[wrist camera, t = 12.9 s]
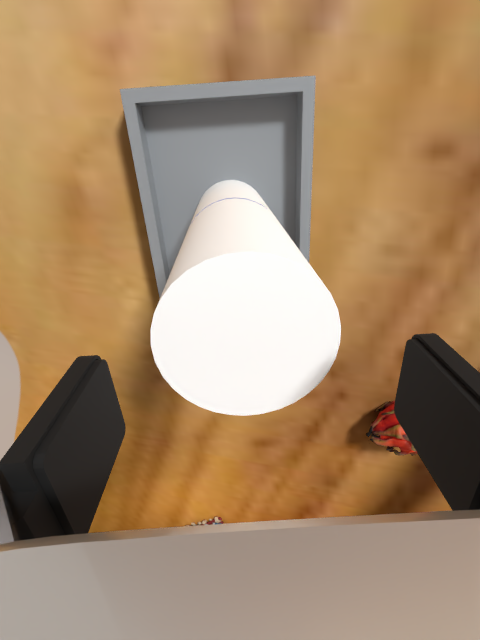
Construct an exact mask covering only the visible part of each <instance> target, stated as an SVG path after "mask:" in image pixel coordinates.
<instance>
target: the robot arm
mask: <svg viewBox="0 0 480 640" xmlns="http://www.w3.org/2000/svg"><path fill="white" fill-rule="evenodd" d="M394 413H395V416H396V418H397V420H398V422H399V423H400V425H401V427H402V428H403V430H404V432H405V433H406V435H407V437H408V438H409V440H410V441H411V443H412V445H413V446H414V448H415V450H416V451H417V453H418V455H419V456H420V458H421V459H422V461H423V463H424V464H425V466H426V468H427V469H428V471H429V473H430V474H431V476H432V477H433V479H434V481H435V482H436V484H437V486H438V487H439V489H440V491H441V492H442V494H443V495H444V497H445V499H446V500H447V502H448V504H449V505H450V507H451V509H452V510H453V511H436V512H418V513H400V514H382V515H364V516H345V517H328V518H312V519H295V520H278V521H262V522H246V523H230V524H214V525H199V526H184V527H169V528H154V529H138V530H123V531H110V532H98V533H88V531H89V529H90V526H91V523H92V521H93V518H94V515H95V513H96V510H97V507H98V505H99V502H100V499H101V497H102V494H103V491H104V489H105V486H106V483H107V481H108V478H109V475H110V473H111V470H112V467H113V465H114V462H115V459H116V457H117V454H118V451H119V449H120V446H121V443H122V441H123V438H124V435H125V422H124V419H123V415H122V412H121V409H120V405H119V402H118V398H117V395H116V392H115V388H114V385H113V381H112V378H111V375H110V371H109V368H108V364H107V362H106V360H104V359H103V360H101V358H100V357H99V356H98V355H94V356H80V357H78V358H76V360H75V361H74V362H73V364H72V365H71V366H70V368H69V369H68V370H67V372H66V373H65V374H64V376H63V377H62V379H61V380H60V381H59V383H58V384H57V385H56V387H55V388H54V389H53V391H52V392H51V393H50V395H49V396H48V397H47V399H46V400H45V401H44V403H43V404H42V406H41V407H40V408H39V410H38V411H37V412H36V414H35V415H34V416H33V418H32V419H31V420H30V422H29V423H28V424H27V426H26V427H25V428H24V430H23V431H22V432H21V434H20V435H19V437H18V438H17V439H16V441H15V442H14V443H13V445H12V446H11V448H10V449H9V450H8V451H7V453H6V454H5V455H4V457H3V458H2V459H1V461H0V640H480V373H479V372H478V371H477V370H476V369H475V368H473V367H472V366H471V365H470V364H469V363H468V362H467V361H466V360H465V359H464V358H462V357H461V356H460V355H459V354H458V353H457V352H456V351H455V350H454V349H452V348H451V347H450V346H449V345H448V344H447V343H446V342H445V341H444V340H443V339H441V338H440V337H439V336H438V335H437V334H434V333H431V334H415V335H414V336H413V337H412V339H410V340H408V341H407V342H406V346H405V352H404V357H403V362H402V367H401V373H400V378H399V383H398V388H397V394H396V399H395V404H394Z"/></svg>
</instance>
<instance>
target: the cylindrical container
mask: <svg viewBox="0 0 480 640" xmlns="http://www.w3.org/2000/svg"><path fill="white" fill-rule="evenodd" d="M340 334H341V324H340V318H339V313H338V309H337V306H336V304H335V302H334V300H333V298H332V295H331V293H330V292H329V290H328V289H327V288H326V286H325V285H324V283H323V282H322V281H321V279H320V278H319V277H318V275H317V274H316V272H315V271H314V270H313V268H312V267H311V265H310V264H309V263H308V261H307V260H306V259H305V257H304V256H303V254H302V253H301V252H300V250H299V249H298V248H297V246H296V245H295V243H294V242H293V241H292V239H291V238H290V236H289V235H288V234H287V232H286V231H285V230H284V228H283V227H282V225H281V224H280V223H279V221H278V220H277V218H276V217H275V216H274V214H273V213H272V212H271V210H270V209H269V207H268V206H267V205H266V203H265V202H264V201H263V199H262V198H261V197H260V195H259V194H258V193H257V191H256V190H255V189H253V188H252V187H251V186H250V185H248V184H246V183H244V182H241V181H238V180H224V181H221V182H218V183H216V184H214V185H213V186H211V187H210V188H209V189H208V190H207V191H206V192H205V193H204V194H203V196H202V197H201V199H200V202H199V204H198V206H197V209H196V211H195V214H194V216H193V219H192V221H191V224H190V226H189V229H188V231H187V233H186V236H185V238H184V241H183V243H182V246H181V248H180V251H179V253H178V256H177V258H176V261H175V263H174V265H173V268H172V270H171V273H170V275H169V278H168V280H167V283H166V285H165V288H164V290H163V292H162V295H161V297H160V300H159V302H158V305H157V307H156V310H155V312H154V315H153V320H152V325H151V348H152V352H153V356H154V360H155V363H156V365H157V367H158V369H159V370H160V372H161V374H162V376H163V377H164V379H165V380H166V381H167V382H168V383H169V385H170V386H171V387H172V388H173V389H174V390H175V391H176V392H177V393H179V394H180V395H181V396H182V397H184V398H185V399H186V400H188V401H190V402H192V403H194V404H195V405H197V406H199V407H202V408H205V409H207V410H210V411H213V412H217V413H222V414H227V415H244V416H245V415H255V414H263V413H267V412H271V411H275V410H278V409H281V408H283V407H285V406H288V405H290V404H292V403H294V402H296V401H297V400H299V399H300V398H302V397H304V396H305V395H307V394H308V393H309V392H310V391H311V390H313V389H314V388H315V387H316V386H317V385H318V384H319V383H320V382H321V381H322V379H323V378H324V377H325V375H326V374H327V373H328V372H329V370H330V368H331V366H332V364H333V362H334V360H335V358H336V355H337V352H338V348H339V345H340Z"/></svg>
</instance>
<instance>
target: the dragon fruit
mask: <svg viewBox="0 0 480 640" xmlns="http://www.w3.org/2000/svg"><path fill="white" fill-rule="evenodd" d="M394 404H395V401H392V402H390V403H389V402H386V403H385V404H383V405H381V406H380V407H379V408H377V409H376V411H375V412H377V411H381V412H380V413H379V414H378V417H377V418H376V420H375V421H374V422H371V427H370V430H369V432H368V433H366V435H367V436H368V437H369V436H370V435H371V436H372V439H370V440H371V441H372V442H374V443H375V444H377V445H380V446H387V448H388V449H387V450H390V452H394V453H395V454H396V455H406V454H411V455H416V454H418V453H417V451H416V450H415V448H414V446H413V445H412V443H411V441H410V440H409V438H408V437H407V435H406V433H405V432H404V430H403V428H402V427H401V425H400V423H399V422H398V420H397V418H396V416H395V413H394ZM371 433H372V434H371ZM374 434H375V435H374ZM376 435H379V436H376ZM369 444H370V443H369ZM392 447H399V448H400V450H401V452H398V451H397V450H393V448H392Z"/></svg>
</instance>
